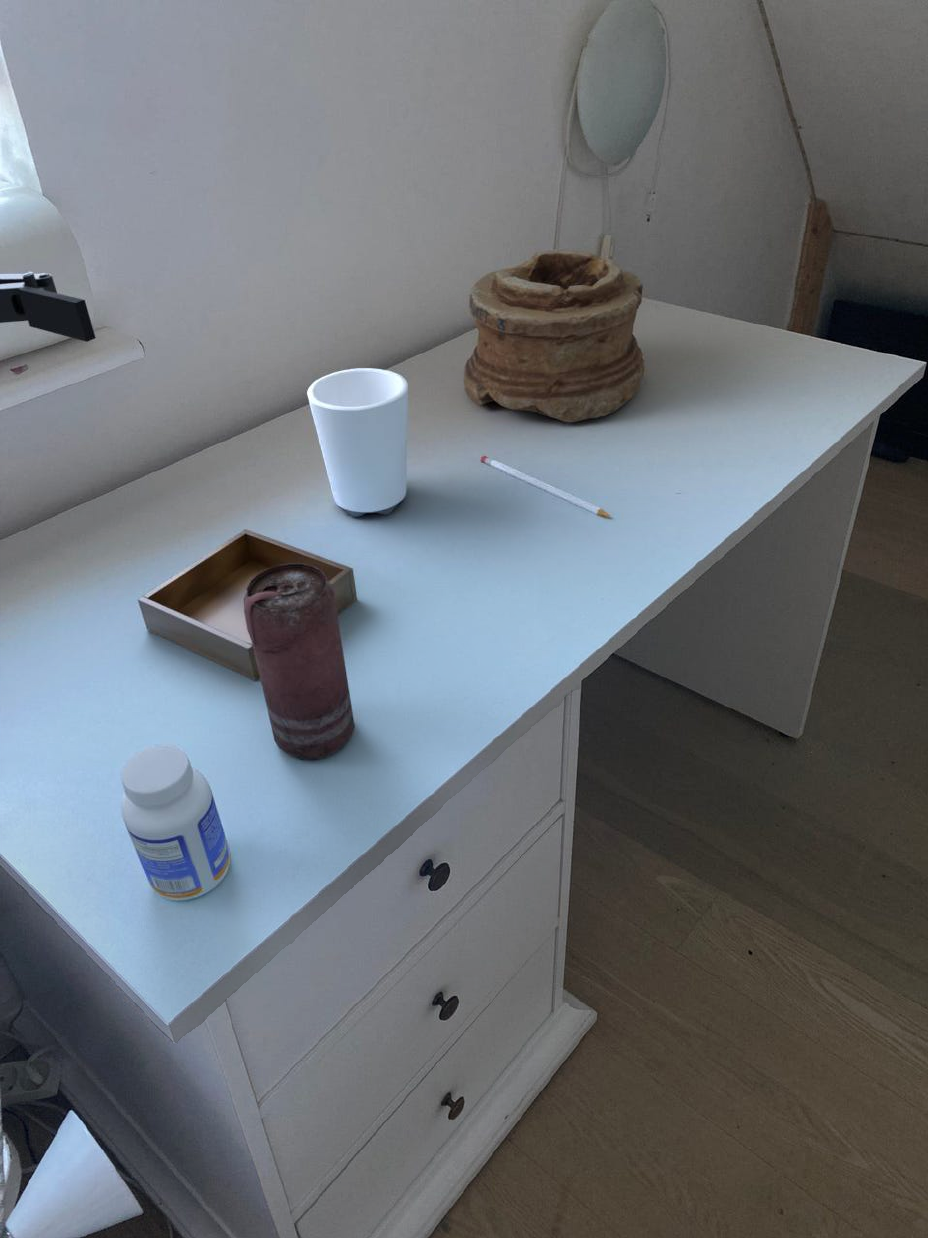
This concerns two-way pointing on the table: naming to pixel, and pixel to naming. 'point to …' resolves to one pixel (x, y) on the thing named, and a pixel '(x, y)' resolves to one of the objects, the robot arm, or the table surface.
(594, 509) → the pencil
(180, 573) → the tray
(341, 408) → the cup
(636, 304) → the container
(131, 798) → the pill bottle
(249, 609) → the can
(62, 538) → the table surface
